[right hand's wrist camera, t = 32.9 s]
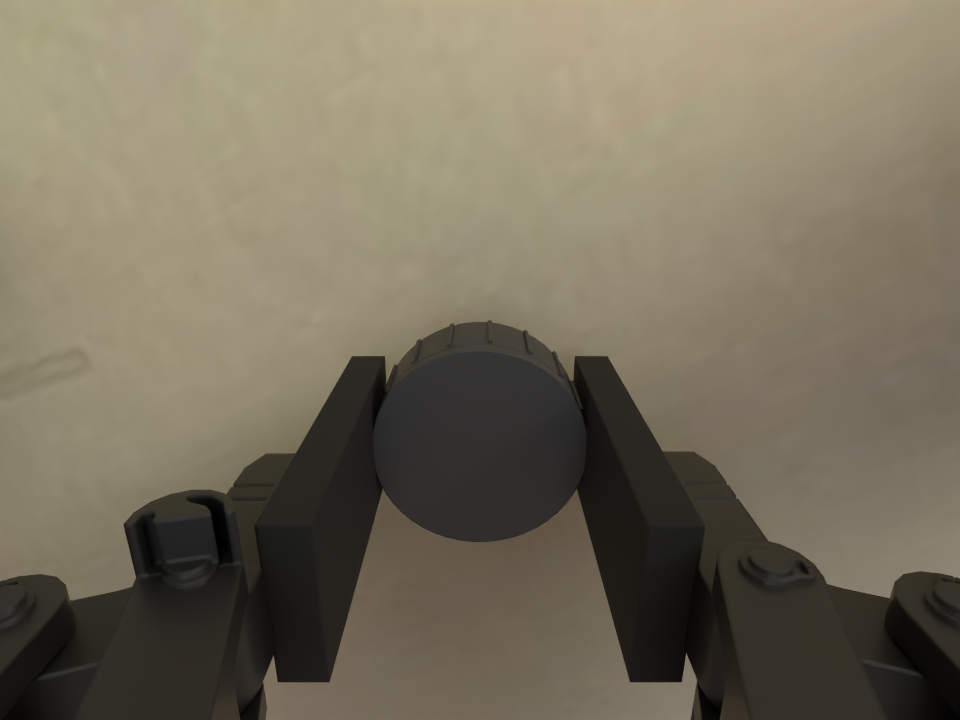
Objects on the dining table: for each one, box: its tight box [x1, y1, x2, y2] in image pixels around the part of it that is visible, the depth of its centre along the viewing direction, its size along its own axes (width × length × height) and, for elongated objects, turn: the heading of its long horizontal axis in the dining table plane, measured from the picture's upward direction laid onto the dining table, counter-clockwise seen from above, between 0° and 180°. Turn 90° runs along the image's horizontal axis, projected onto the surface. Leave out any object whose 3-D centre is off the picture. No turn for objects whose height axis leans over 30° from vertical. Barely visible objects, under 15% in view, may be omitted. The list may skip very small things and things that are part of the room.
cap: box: [373, 320, 587, 542], centre depth 13 cm, size 5×5×2 cm
